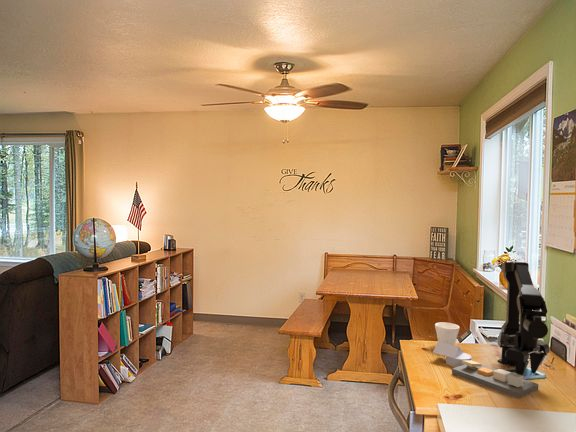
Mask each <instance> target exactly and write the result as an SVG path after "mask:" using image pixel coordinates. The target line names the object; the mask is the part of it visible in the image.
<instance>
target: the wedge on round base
mask: <svg viewBox="0 0 576 432" xmlns="http://www.w3.org/2000/svg"><path fill="white" fill-rule="evenodd" d="M432 354H437V355H441V356H444V357H445V362H446V364H447V365H448V366H450V367H452V368H455V367H459V366H462V365H465V364H462V361H463V360H472V356H471V355H470V354H469V353H467V352H463V351H462V348H461V347H460V346H459V345H450V344H446V343H442V342H438V341H437V342H436V344H435V347H434V349H433V350H432Z"/></svg>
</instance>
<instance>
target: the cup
mask: <svg viewBox="0 0 576 432" xmlns="http://www.w3.org/2000/svg"><path fill="white" fill-rule="evenodd" d="M434 328H435V331H436V337H437V342H442V343H446V344H450V345H455V344H456V341H457V339H458V334H459V331H460V326H459V325H458V324H456V323H451V322H445V321H444V322H443V321H441V322H440V321H439V322H436V323H435V324H434ZM455 346H456V345H455Z"/></svg>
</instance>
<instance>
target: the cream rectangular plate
mask: <svg viewBox="0 0 576 432" xmlns="http://www.w3.org/2000/svg"><path fill="white" fill-rule="evenodd" d="M462 364H465V365H468V366H471V367H481V365H482V363H480V362H477V361H475V360H472V359H471V360H463V361H462Z"/></svg>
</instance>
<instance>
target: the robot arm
mask: <svg viewBox="0 0 576 432" xmlns="http://www.w3.org/2000/svg"><path fill="white" fill-rule="evenodd" d="M529 268H530V267H529V263H528V261H523V260H506V261H505V262H503V263H502V265H501V272H502V274H503V275H502V277H503V279H504V280H505V282H506V283H507V284H506V285H507V286H506V289H507V291H506V316H505V317H506V320H505V322H504V323H503V325H502V326H501V331H500V332H499V334H498V337H497V345H498V347H499V348H501V356H500V357H501V358H500V359H498V360H497V362H498V363H501V364H505V365H507V366H510V367H514V368H515V373H516V374H519V375H522V376H523V377H524V375H525V372H526V369H527V367H528V365H529V362H530V372H531V373H532V374H536V372H537V371H538V369H539V368H540V366H541V364H542V363H543V361H544V360H545V359H546V357H547V356H548V354H550V346H549V344H548V343H545V342H541V341H539V339H543V338H545V337H546V336H547V335H548V333H549V328H548V325H547V324H546V322H544V321H542V318H546V317H547V313H548V308H547V304H546V300H545V298H544V297H543V295H542V293H541V291H540V290H539V289H537V288H536V287H535V286H534V283H533V281H532V276H531V274H530V269H529Z"/></svg>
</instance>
